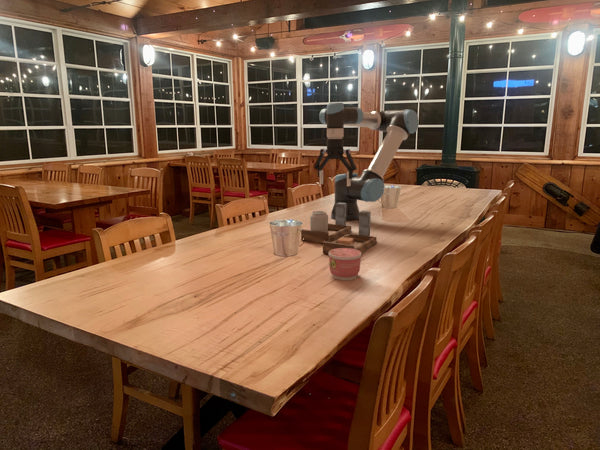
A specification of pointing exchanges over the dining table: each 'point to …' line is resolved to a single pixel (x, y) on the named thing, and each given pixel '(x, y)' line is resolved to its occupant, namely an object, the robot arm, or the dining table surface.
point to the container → (344, 263)
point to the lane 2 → (355, 236)
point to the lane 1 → (324, 236)
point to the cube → (346, 240)
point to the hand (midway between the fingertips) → (334, 185)
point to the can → (319, 221)
